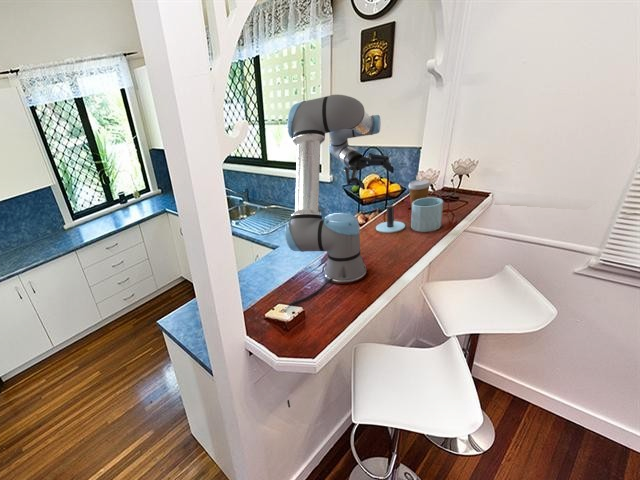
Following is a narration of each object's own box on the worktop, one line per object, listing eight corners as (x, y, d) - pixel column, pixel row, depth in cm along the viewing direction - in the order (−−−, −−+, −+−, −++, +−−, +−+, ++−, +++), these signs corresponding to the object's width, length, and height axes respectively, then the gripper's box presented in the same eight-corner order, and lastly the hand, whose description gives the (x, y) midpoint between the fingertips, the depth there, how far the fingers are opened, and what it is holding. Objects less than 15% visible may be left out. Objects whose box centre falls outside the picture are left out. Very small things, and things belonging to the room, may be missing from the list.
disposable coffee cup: (424, 201, 176) (426, 178, 170) (431, 207, 168) (433, 182, 162) (405, 205, 178) (405, 181, 172) (411, 211, 170) (411, 186, 164)
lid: (391, 236, 152) (392, 212, 146) (370, 230, 162) (369, 208, 156) (411, 226, 156) (411, 203, 150) (388, 221, 166) (388, 199, 160)
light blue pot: (429, 234, 145) (430, 208, 139) (405, 229, 154) (406, 204, 149) (446, 225, 149) (449, 199, 143) (422, 220, 158) (424, 196, 152)
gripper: (376, 151, 162) (405, 170, 148) (328, 178, 164) (353, 200, 150) (375, 136, 156) (404, 155, 142) (326, 165, 158) (350, 186, 144)
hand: (378, 178), depth 146 cm, fingers open, 13 cm apart
